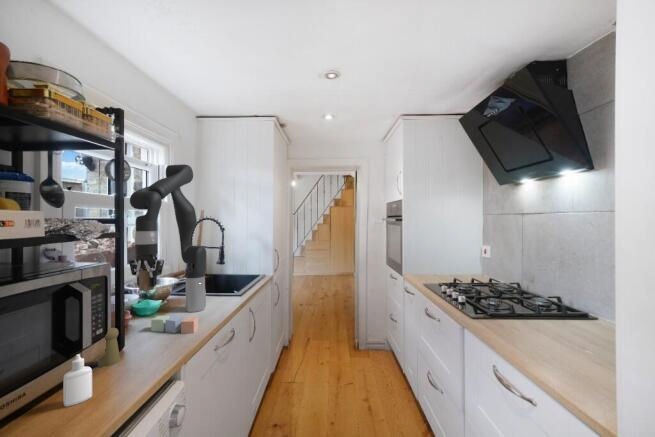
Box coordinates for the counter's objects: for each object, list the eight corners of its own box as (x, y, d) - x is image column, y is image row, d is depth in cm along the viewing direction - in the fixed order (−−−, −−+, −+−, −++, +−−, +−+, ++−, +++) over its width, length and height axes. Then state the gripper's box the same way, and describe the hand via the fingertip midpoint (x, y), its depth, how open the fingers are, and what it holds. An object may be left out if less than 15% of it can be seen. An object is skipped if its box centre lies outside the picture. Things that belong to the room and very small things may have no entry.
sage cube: (158, 327, 129) (158, 315, 129) (169, 327, 129) (169, 315, 129) (151, 331, 124) (151, 319, 124) (163, 331, 124) (163, 319, 124)
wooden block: (138, 290, 113) (138, 269, 113) (149, 288, 117) (149, 268, 117) (144, 291, 111) (143, 270, 111) (154, 289, 114) (154, 269, 114)
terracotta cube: (186, 329, 126) (185, 317, 126) (198, 328, 126) (198, 317, 126) (181, 333, 121) (181, 321, 121) (193, 333, 121) (193, 321, 121)
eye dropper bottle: (87, 403, 75) (87, 356, 75) (60, 408, 73) (60, 360, 73) (94, 394, 79) (94, 349, 79) (68, 398, 77) (68, 352, 77)
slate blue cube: (174, 327, 128) (174, 316, 128) (184, 328, 127) (184, 317, 127) (165, 331, 123) (165, 319, 123) (175, 333, 122) (175, 321, 122)
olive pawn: (124, 359, 99) (124, 326, 99) (105, 368, 93) (105, 333, 93) (111, 356, 101) (111, 324, 101) (92, 365, 95) (92, 331, 95)
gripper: (169, 242, 116) (169, 284, 116) (138, 241, 119) (138, 283, 119) (155, 243, 109) (155, 289, 109) (122, 243, 111) (122, 288, 111)
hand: (146, 286), depth 114 cm, fingers closed on wooden block, 5 cm apart
